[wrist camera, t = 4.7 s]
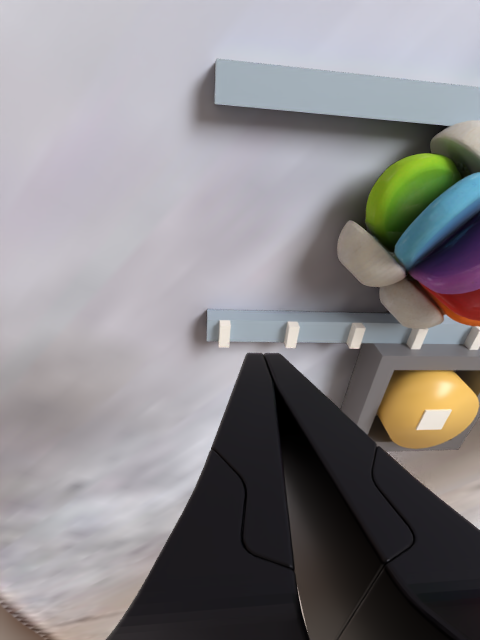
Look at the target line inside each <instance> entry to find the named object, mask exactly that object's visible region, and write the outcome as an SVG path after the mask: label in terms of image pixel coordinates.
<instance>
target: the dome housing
mask: <svg viewBox="0 0 480 640" xmlns="http://www.w3.org/2000/svg"><path fill="white" fill-rule="evenodd" d="M394 370H456V371H455V373H456V374H457V375H458V376H459V377H460V378H461V379H462V380H463V381H464V382H465V384H466V385H467V386H468V387H469V388H470V389H471V390H472V391H473V392H474V393H475V394H476V396H477V398H478V401H479V408H478V412H477V415H476V417H475V418H474V420H473V421H472V423H471V424H470V425H469V426H468V427H467V428H466V429H465V430H464V431H462V432H461V433H460V434H458V435H457V436H455V437H454V438H452V439H450V440H448V441H446V442H444V443H442V444H439V445H436V446H432V447H428V448H421V449H411V448H405V447H402V446H399V445H397V444H396V443H394V442H393V441H392V440H391V438H390V436H389V435H388V433H387V431H386V429H385V428H384V426H383V424H382V422H381V420H380V419H379V417H378V416H376V413H377V411H378V408H379V406H380V404H381V401H382V399H383V396H384V394H385V391H386V389H387V386H388V384H389V381H390V379H391V377H392V374H393V372H394ZM341 411H342V412H344V413H345V414H346V415H347V416H348V417H349V418H350V419H351V420H352V421H353V422H354V423H355V424H356V425H358V426H359V427H360V428H361V429H362V430H363V431H364V432H365V433H366V434H367V435H368V436H369V437H370V438H371V439H373V440H374V441H375V442H376V443H377V446H380V447H381V448H382V449H384V450H385V451H386V452H388V451H424V450H458V449H459V448H460V446H461V445H462V443H463V442H464V440H465V438H466V437H467V435H468V434H469V432H470V431H471V429H472V427H473V426H474V424H475V423H476V421H477V419H478V418H479V416H480V347H479V349H478V350H469V349H468V348H467V347H466V346H465V345H464V344H422V346H421V348H420V349H410V348H409V346H408V345H407V344H398V343H362V346H361V349H360V352H359V355H358V359H357V362H356V365H355V368H354V371H353V374H352V377H351V380H350V383H349V386H348V389H347V392H346V395H345V398H344V401H343V404H342V407H341Z"/></svg>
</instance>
